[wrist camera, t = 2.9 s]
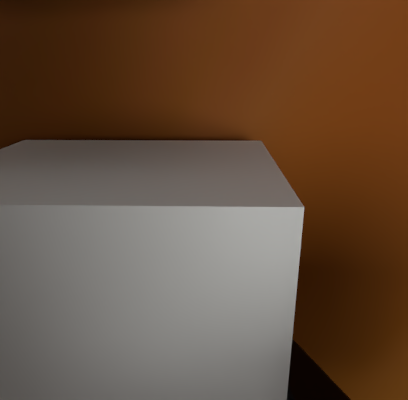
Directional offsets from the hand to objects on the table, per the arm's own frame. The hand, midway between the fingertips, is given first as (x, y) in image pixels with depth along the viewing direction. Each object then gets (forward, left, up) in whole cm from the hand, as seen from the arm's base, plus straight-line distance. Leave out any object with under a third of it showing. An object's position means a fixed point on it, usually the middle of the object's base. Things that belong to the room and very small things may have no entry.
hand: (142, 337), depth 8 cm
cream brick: (0, 0, -1) cm, 1 cm away
